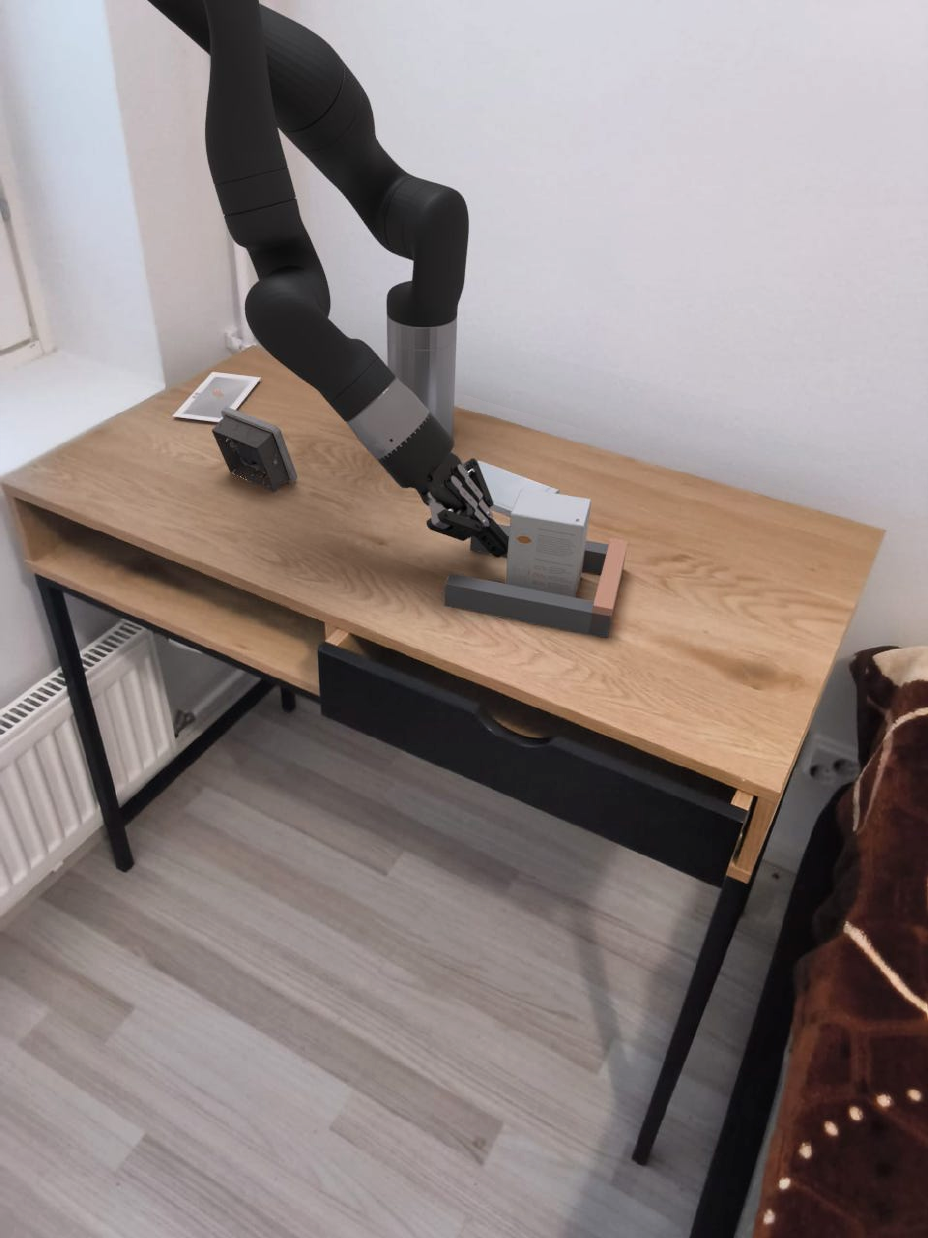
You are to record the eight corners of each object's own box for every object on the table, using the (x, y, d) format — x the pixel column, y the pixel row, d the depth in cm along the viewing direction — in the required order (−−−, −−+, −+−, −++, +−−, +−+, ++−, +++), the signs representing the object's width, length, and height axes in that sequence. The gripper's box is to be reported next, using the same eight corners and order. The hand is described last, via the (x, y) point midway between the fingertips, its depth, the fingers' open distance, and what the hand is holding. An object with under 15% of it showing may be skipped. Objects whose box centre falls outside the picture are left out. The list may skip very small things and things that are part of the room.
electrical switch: (299, 482, 119) (289, 420, 112) (273, 502, 116) (260, 440, 109) (246, 460, 123) (232, 399, 116) (219, 479, 120) (203, 418, 113)
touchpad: (262, 384, 141) (260, 370, 140) (226, 429, 130) (224, 415, 128) (213, 378, 142) (211, 365, 141) (173, 423, 131) (170, 409, 129)
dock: (474, 540, 110) (475, 512, 108) (623, 568, 107) (628, 540, 105) (444, 605, 101) (445, 576, 98) (607, 638, 97) (612, 609, 95)
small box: (581, 576, 106) (593, 498, 99) (573, 605, 101) (585, 526, 95) (514, 563, 107) (521, 485, 100) (503, 591, 103) (510, 512, 96)
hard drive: (445, 484, 118) (528, 515, 113) (479, 458, 123) (560, 487, 118) (444, 495, 119) (527, 526, 114) (478, 469, 124) (559, 498, 119)
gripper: (404, 443, 89) (516, 570, 94) (443, 387, 99) (543, 504, 104) (354, 481, 93) (464, 600, 99) (396, 423, 103) (494, 534, 109)
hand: (504, 550), depth 102 cm, fingers closed
